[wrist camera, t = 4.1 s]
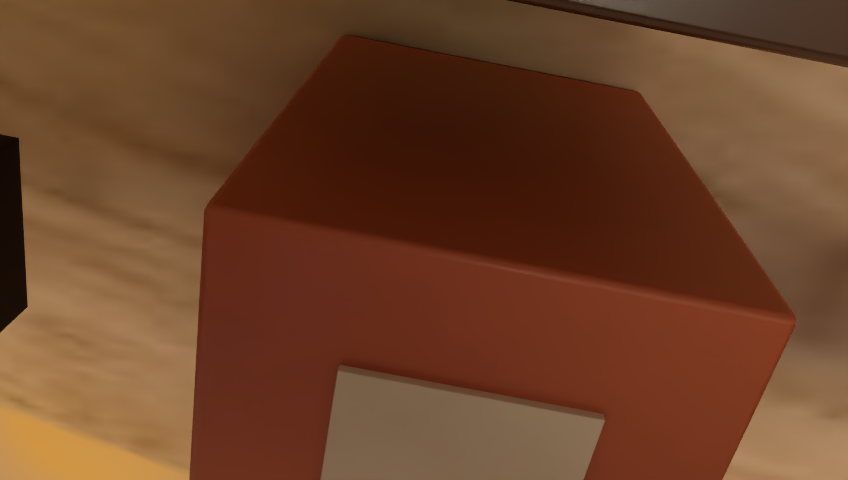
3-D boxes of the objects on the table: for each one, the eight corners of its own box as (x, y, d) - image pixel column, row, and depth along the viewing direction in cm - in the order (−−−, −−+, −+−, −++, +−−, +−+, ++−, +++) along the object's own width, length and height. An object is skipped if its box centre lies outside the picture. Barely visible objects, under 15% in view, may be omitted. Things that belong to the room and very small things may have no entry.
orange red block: (308, 293, 15) (176, 621, 8) (341, 32, 12) (197, 209, 6) (563, 341, 15) (626, 702, 8) (641, 91, 13) (808, 325, 6)
